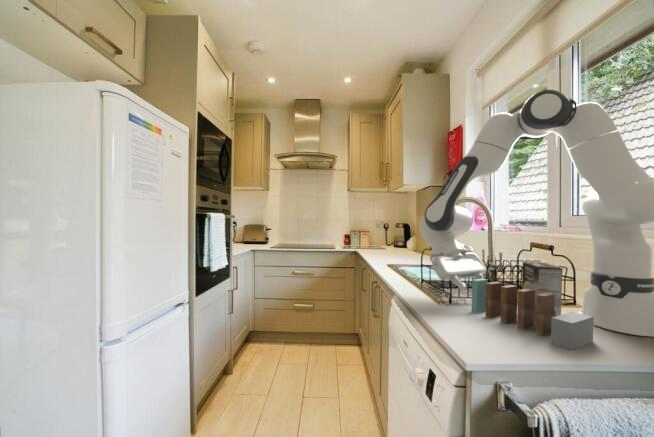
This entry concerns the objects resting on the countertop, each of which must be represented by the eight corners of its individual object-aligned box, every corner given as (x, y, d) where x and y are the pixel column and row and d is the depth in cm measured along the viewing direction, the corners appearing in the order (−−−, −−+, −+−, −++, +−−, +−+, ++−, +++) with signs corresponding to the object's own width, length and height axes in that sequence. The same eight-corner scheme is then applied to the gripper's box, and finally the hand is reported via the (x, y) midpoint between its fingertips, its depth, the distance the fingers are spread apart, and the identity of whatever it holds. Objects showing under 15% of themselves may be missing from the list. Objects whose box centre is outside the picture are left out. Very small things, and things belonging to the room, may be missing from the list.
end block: (572, 335, 70) (573, 311, 70) (593, 341, 67) (593, 316, 67) (551, 342, 66) (551, 317, 66) (571, 350, 62) (572, 323, 62)
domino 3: (500, 321, 79) (501, 286, 79) (511, 319, 81) (511, 284, 81) (506, 323, 78) (506, 287, 78) (516, 321, 80) (517, 286, 80)
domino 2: (485, 316, 83) (485, 283, 83) (495, 314, 86) (496, 281, 85) (490, 318, 82) (491, 284, 82) (501, 315, 84) (501, 282, 84)
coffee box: (520, 313, 87) (521, 261, 86) (543, 315, 85) (544, 262, 85) (536, 324, 78) (537, 266, 77) (562, 326, 76) (563, 267, 76)
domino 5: (535, 333, 71) (536, 294, 71) (546, 330, 73) (547, 292, 73) (542, 336, 70) (543, 296, 70) (553, 332, 72) (554, 294, 72)
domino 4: (517, 327, 75) (517, 290, 75) (527, 324, 77) (528, 288, 77) (523, 329, 74) (524, 291, 74) (534, 326, 76) (535, 289, 76)
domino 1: (471, 311, 87) (472, 279, 87) (482, 309, 90) (482, 278, 90) (476, 313, 86) (477, 280, 86) (486, 311, 88) (487, 279, 88)
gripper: (433, 248, 91) (458, 285, 82) (474, 246, 100) (501, 279, 92) (422, 260, 95) (445, 296, 86) (463, 257, 104) (487, 290, 96)
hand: (474, 287), depth 89 cm, fingers open, 8 cm apart
